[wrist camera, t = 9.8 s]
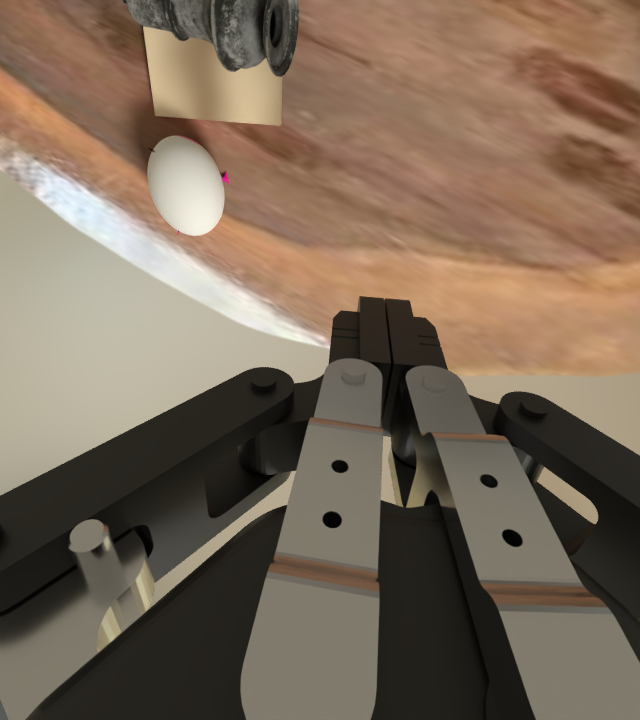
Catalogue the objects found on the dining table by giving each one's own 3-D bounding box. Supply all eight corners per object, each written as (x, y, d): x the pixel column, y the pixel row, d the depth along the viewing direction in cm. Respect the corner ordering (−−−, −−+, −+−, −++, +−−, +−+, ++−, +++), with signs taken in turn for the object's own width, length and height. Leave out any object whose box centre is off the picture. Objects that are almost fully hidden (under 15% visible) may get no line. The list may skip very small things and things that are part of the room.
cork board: (283, -66, 28) (282, -68, 28) (281, 124, 34) (280, 125, 34) (133, -76, 28) (129, -78, 28) (158, 115, 35) (155, 115, 34)
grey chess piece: (306, 6, 30) (152, -23, 32) (282, -61, 24) (95, -92, 26) (285, 97, 31) (138, 64, 33) (257, 54, 25) (81, 17, 27)
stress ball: (177, 133, 38) (107, 146, 34) (235, 124, 34) (162, 138, 29) (201, 220, 42) (141, 241, 38) (257, 223, 37) (195, 247, 33)
